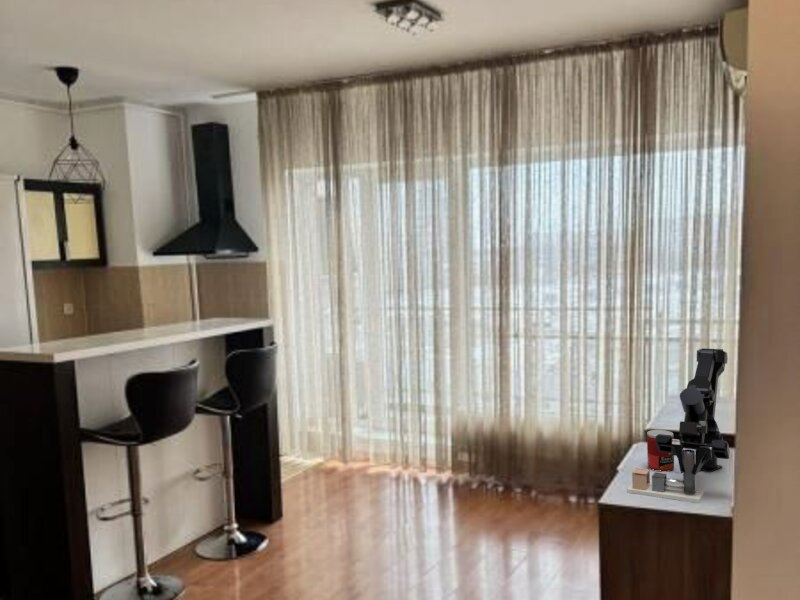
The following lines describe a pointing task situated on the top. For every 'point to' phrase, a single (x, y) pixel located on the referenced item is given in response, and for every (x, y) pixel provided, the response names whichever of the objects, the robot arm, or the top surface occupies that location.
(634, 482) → the tan block
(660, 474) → the sleeve
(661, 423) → the top surface
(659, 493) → the base board
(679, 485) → the slide bolt
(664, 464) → the canned food
